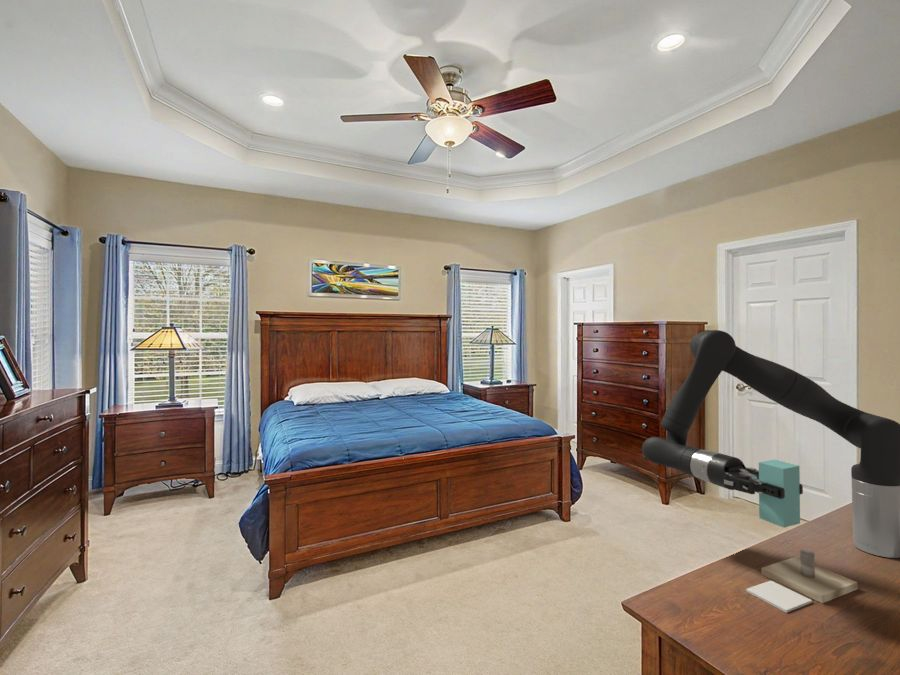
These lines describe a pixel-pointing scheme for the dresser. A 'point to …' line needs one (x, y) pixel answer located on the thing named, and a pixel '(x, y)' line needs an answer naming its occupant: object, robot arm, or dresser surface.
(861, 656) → the dresser surface
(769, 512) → the tall teal pillar
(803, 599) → the mat
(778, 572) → the post stand
